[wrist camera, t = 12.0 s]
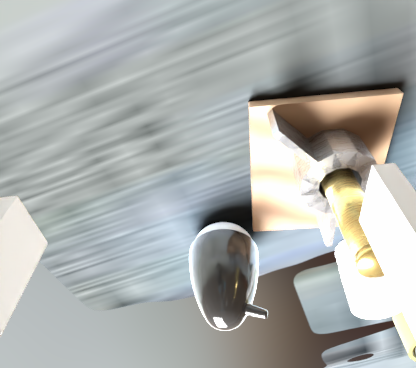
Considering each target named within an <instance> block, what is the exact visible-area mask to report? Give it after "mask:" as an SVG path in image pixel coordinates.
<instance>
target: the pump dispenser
mask: <svg viewBox="0 0 416 368" xmlns="http://www.w3.org/2000/svg"><path fill="white" fill-rule="evenodd" d="M189 267H190V276H191V282H192V287H193V290H194V294H195V297H196V299H197V302H198V305H199V307H200V310H201V312H202V314H203V315H204V317H205V319H206V320H207V322H208V323H209V324H210V325H211V326H212V327H214V328H216V329H218V330H222V331H230V330H233V329H235V328H237V327H238V326H240V325H241V323H242V322H243V321H244V319H245V318H246V316H247V315H248V316H254V317H259V318H264V319H266V318H267V316H268V311H267V310H266V309H263V308H260V307H257V306H254V305H252V301H253V298H254V295H255V291H256V286H257V281H258V270H259V254H258V248H257V245H256V243H255V242H254V241H253V240H252V238H251V236H250V235H249V234H248V232H247V231H246V230H244V229H243V228H242V227H240V226H238V225H236V224H233V223H229V222H218V223H214V224H211V225H209V226H207V227H205V228H204V229H203V230H201V231H200V232H199V234H198V235H197V236H196V238H195V240H194V241H193V243H192V244H191V247H190V251H189Z"/></svg>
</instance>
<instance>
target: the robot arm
mask: <svg viewBox="0 0 416 368" xmlns="http://www.w3.org/2000/svg"><path fill="white" fill-rule="evenodd" d="M359 222H360V224H361V226H362V228H363V230H364V232H365V234H366V236H367V238H368V241H369V243H370V245H371V247H372V249H373V251H374V253H375V255H376V257H377V260H378V262H379V264H380V266H381V268H382V270H383V272H384V274H385V276H386V278H387V281H388V283H389V285H390V287H391V289H392V291H393V293H394V295H395V297H396V300H397V302H398V304H399V306H400V308H401V310H402V312H403V314H404V316H405V318H406V321H407V323H408V325H409V327H410V329H411V331H412V333H413V335H414V337H415V340H416V191H415V190H414V188H413V187H412V186H411V184H410V183H409V182H408V180H407V179H406V178H405V176H404V175H403V173H402V172H401V171H400V169H399V168H398V167H397V165H396V164H395V163H389V164H378V165H372V167H371V171H370V176H369V180H368V184H367V188H366V192H365V197H364V201H363V205H362V209H361V214H360V218H359ZM47 244H48V242H47V241H46V239H45V238H44V236H43V235H42V233H41V231H40V230H39V228H38V227H37V225H36V224H35V222H34V221H33V219H32V218H31V216H30V215H29V213H28V211H27V210H26V208H25V207H24V205H23V204H22V202H21V201H20V199H19V198H18V196H11V197H0V337H1V335H2V333H3V331H4V329H5V327H6V325H7V323H8V321H9V319H10V317H11V315H12V313H13V311H14V309H15V307H16V306H17V304H18V302H19V300H20V298H21V296H22V294H23V292H24V290H25V288H26V286H27V284H28V282H29V280H30V278H31V276H32V274H33V272H34V270H35V268H36V266H37V264H38V262H39V260H40V258H41V256H42V254H43V252H44V250H45V248H46V246H47Z"/></svg>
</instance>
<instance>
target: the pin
mask: <svg viewBox="0 0 416 368" xmlns="http://www.w3.org/2000/svg"><path fill="white" fill-rule="evenodd" d="M320 182H321V184H322V187H323V189H324V191H325V194H326V196H327V199H328V201H329V203H330V206H331V208H332V211H333V213H334V215H335V218H336V220H337V223H338V225H339V227H340V230H341V232H342V235H343V237H344V240H345V242H346V244H347V247H348V249H349V252H350V254H351V256H352V259H353V261H354V264H355V266H356V268H357V271H358V273H359V274H361V275H362V276H365V277H370V278H375V277H382V276H385V274H384V272H383V270H382V268H381V266H380V264H379V262H378V260H377V257H376V255H375V253H374V251H373V249H372V247H371V245H370V243H369V241H368V238H367V236H366V234H365V232H364V230H363V228H362V226H361V224H360V222H359V218H360V214H361V209H362V205H363V201H364V197H365V193H364V191H363V190H362V188H361V186H360V184H359V183H358V181H357V179H356V177H355V175H354V174H353V172H352V170H351V169H350V168H341V169H336V170H334V171H332V172H330V173H328V174H326V175H325V176H324V178H323V179H322V180H321V181H320Z"/></svg>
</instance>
